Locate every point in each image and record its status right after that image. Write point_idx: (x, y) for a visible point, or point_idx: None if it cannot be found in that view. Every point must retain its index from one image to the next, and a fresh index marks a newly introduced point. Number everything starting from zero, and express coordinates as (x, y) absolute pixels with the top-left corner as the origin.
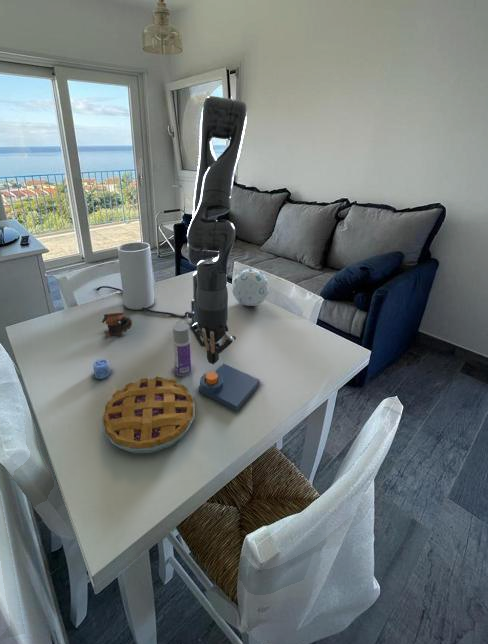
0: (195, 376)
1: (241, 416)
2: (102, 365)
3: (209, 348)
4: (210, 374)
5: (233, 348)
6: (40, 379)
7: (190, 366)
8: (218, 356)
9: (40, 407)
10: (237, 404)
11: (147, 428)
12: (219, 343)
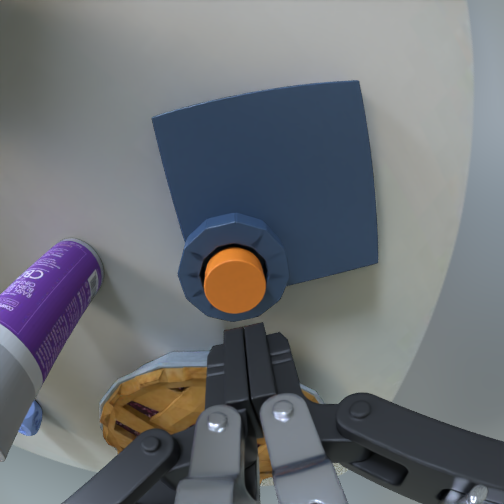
0: (126, 250)
1: (387, 254)
2: (26, 429)
3: (258, 460)
4: (225, 287)
5: (93, 2)
6: (25, 444)
7: (83, 261)
8: (292, 359)
9: (86, 469)
10: (375, 255)
11: (270, 466)
12: (323, 454)
